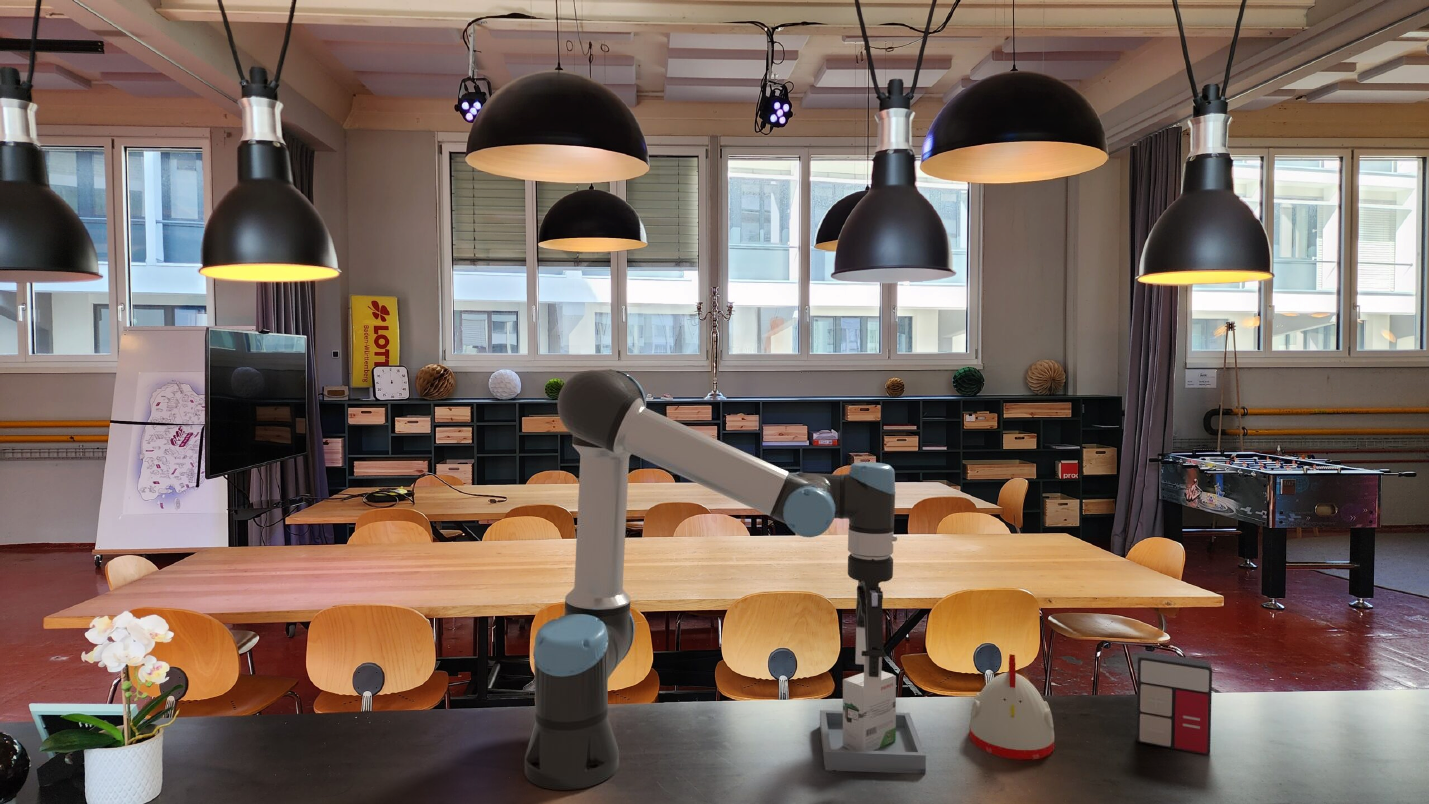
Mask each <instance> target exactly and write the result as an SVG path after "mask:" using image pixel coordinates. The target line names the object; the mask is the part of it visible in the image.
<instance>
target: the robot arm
mask: <svg viewBox="0 0 1429 804" xmlns="http://www.w3.org/2000/svg"><path fill="white" fill-rule="evenodd" d="M556 408H557V412H558V417H559V419H560V421H561V424H562V425H563V426H564V428H565V429H566V430H567V431H568V432H570V434H572V438H571V439H572V440H571V441H572V442H571V444H572V447H573V448H574V449H575V450H576V451H577V452H578V453H579V456H580V459H579V461H580V462H579V477H578V478H579V481H578V500H577V520H576V521H577V525H576V543H575V544H576V545H575V562H574V563H575V565H574V567H575V568H574V586H573V589H571V590H570V591H569V592H568V593H567V594H566V595H565V597H564V615H562V616H559V617H558V618H557V619H556V618H552V619H550V620H549V621H547V622H545V623H543V625H542V626H540V628H539V629H538V630H537V632H536V634H535V639H534V646H533V652H532V654H533V664H534V665H533V666H534V667H533V668H534V672H533V673H534V708H535V709H534V711H535V712H534V713H535V717H534V718H535V722H534V726H533V729H532V733H531V736H530V739H529V742H528V746H527V749H526V752H525V755H524V775H525V777H526V779H527V780H528V781H529V782H531V783H532V784H533V785H535V786H538V787H541V788H544V789H548V790H554V791H555V790H556V791H571V790H572V791H573V790H580V789H584V788H589V787H593V786H595V785H598V784H601V783H603V782H604V781H606V780H609V778H611V777H612V776H613V775H615V773H616V772H617V770H618V768H619V767H620V752H619V747H618V744H617V739H616V737H615V734H614V731H613V728H612V725H611V722H610V720H609V716H608V715H609V714H608V713H609V712H608V711H609V710H608V709H609V708H608V707H609V705H608V703H609V702H608V701H609V700H608V699H609V697H608V696H609V695H608V690H609V689H608V681H609V678H610V677H611V675H612V674H613V673H614V671H615V670H616V669H617V667H618V666H619V665H620V663H621V662H622V661H623V660H624V659H625V657H627V655H628V654H629V651H630V650H631V647H632V645H633V642H634V638H635V633H636V632H635V629H636V625H635V621H634V617H633V615H632V613H631V596H630V595H629V594H628V592H626V591H625V589H624V588H623V586H624V567H625V566H624V565H625V549H626V548H625V546H626V531H627V529H626V528H627V507H628V484H629V464H630V457H631V455H633V456H636V457H638V458H640V459H643V460H644V461H646V462H647V461H648V462H649V463H652V464H654V465H655V466H658V467H660V468H662V469H665V470H667V471H669V472H671V473H674V474H676V475H678V476H679V477H682V478H685V479H687V480H689V481H691V482H693V483H696V484H698V485H700V486H703V487H705V488H707V489H709V490H712V491H714V492H716V493H718V494H719V495H723V496H724V497H727V498H730V499H732V500H733V501H736V502H738V503H741V504H743V505H745V506H747V507H749V508H751V509H753V510H755V511H758V512H760V513H762V514H765V515H767V516H769V517H771V518H772V519H775V520H777V521H779V522H782V523H783V524H786V526H787V527H788V528H789V529H790V531H792V532H793V533H794V534H795V535H798V536H799V537H803V538H815V537H819V536H820V535H822V534H824V533H825V532H826V531H828V529H829V528H830V527H831V525H832V524H833V521H834V519H838V520H839V519H840V520H844V519H847V520H848V530H847V531H848V532H847V535H848V536H847V551H848V552H849V553H850V554H849V555H848V557H847V575H848V577H849V578H851V579H852V580H854V581H857V584H858V585H857V586H856V607H855V613H854V617H855V619H856V620H855V623H856V627H855V628H856V629H855V662H854V663H855V665H863V673H864V695H878V696H881V674H882V671H883V670H882V667H883V663H882V662H883V657H885V650H884V649H885V648H884V647H885V645H884V622H883V621H884V620H883V599H884V592H883V590H881V589H882V587H881V586H879V584H880V583H882V582H883V583H886V582H889V581H891V580H892V578H893V575H894V558H893V557H892V556H891V555H893V553H894V544H893V542H897V541H898V536H897V535H894V531H895V511H896V510H895V509H896V508H895V506H896V479H895V478H896V476H895V475H896V472H895V469H894V468H893V467H892V466H891V465H890V464H886V463H882V462H871V461H870V462H868V461H866V462H865V461H864V462H854V463H852V464H851V465H850V466H849V471H848V473H844V474H835V473H834V474H833V473H831V474H830V473H829V474H828V473H811V472H803V471H797V472H789V471H788V470H786V469H782V468H781V467H778V466H776V465H774V464H772V463H769V462H767V461H765V460H763V459H761V458H758V457H757V456H755V455H754V456H753V455H752V454H751V453H750V454H749V453H747V452H745V451H742V450H740V449H738V448H737V447H734V446H732V445H729V444H727V443H725V442H722V441H720V440H718V439H715V438H713V437H711V436H709V435H707V434H705V433H704V432H700V431H698V430H696V429H693V428H691V427H689V426H687V425H684V424H682V423H680V422H678V421H676V420H673V419H671V418H670V417H667V416H665V415H662V414H660V413H658V412H655V411H654V410H651V409H649V408H647V399H646V395H645V392H644V390H643V387H642V386H641V384H640V383H639V382H638V381H637V380H636V378H634V377H633V376H632V375H629V374H628V373H625V372H623V371H621V370H616V369H597V370H596V369H591V370H590V369H589V370H584V371H581V372H578V373H575V374H574V375H572V376H571V377H570V378H569V379H568V380H567V381H565V383H564V384H563V386H562V388H561V389H560V391H559V394H558V397H557V407H556Z"/></svg>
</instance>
